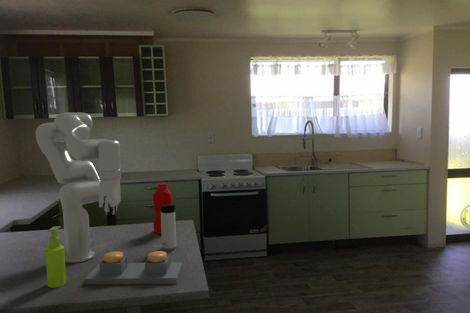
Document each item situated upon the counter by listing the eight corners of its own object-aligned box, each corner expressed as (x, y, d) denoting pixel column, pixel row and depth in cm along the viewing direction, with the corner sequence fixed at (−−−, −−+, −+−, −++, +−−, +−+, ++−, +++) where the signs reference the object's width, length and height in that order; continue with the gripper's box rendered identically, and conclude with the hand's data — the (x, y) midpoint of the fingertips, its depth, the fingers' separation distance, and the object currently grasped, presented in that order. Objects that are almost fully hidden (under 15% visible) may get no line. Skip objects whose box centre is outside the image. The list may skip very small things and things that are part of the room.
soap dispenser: (70, 278, 132) (67, 224, 130) (61, 287, 125) (58, 230, 123) (53, 279, 132) (50, 225, 130) (44, 288, 125) (40, 231, 123)
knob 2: (146, 273, 131) (145, 257, 130) (150, 266, 137) (150, 251, 137) (165, 273, 131) (164, 257, 130) (168, 265, 137) (168, 250, 137)
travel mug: (162, 251, 158) (161, 206, 156) (161, 246, 164) (160, 203, 162) (177, 250, 160) (175, 205, 158) (175, 245, 166) (174, 202, 164)
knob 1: (101, 274, 131) (100, 258, 130) (108, 266, 137) (107, 251, 137) (120, 273, 131) (119, 258, 130) (126, 266, 137) (125, 251, 137)
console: (84, 284, 127) (84, 267, 127) (99, 268, 141) (99, 253, 141) (176, 283, 127) (176, 266, 127) (182, 267, 141) (182, 252, 140)
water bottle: (149, 230, 188) (147, 182, 185) (170, 228, 192) (168, 181, 190) (153, 236, 179) (151, 185, 177) (175, 232, 184) (173, 183, 182)
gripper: (107, 171, 138) (109, 219, 140) (91, 178, 123) (93, 231, 125) (126, 171, 138) (128, 219, 140) (113, 178, 123) (115, 231, 125)
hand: (112, 224), depth 133 cm, fingers closed
